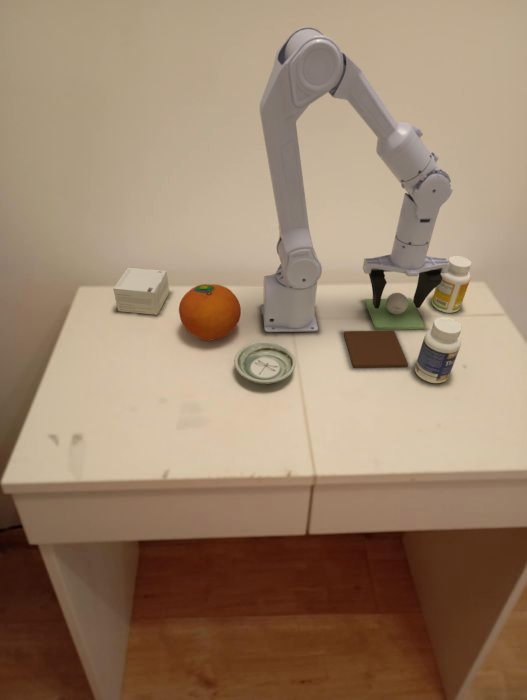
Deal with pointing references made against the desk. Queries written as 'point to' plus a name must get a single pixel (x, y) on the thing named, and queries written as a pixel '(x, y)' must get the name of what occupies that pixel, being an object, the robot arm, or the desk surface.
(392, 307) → the golf ball
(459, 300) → the supplement bottle
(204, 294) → the fruit
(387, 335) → the walnut mat
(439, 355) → the pill bottle
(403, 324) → the sage mat
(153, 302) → the small box
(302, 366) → the desk surface
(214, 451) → the desk surface
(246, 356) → the saucer
